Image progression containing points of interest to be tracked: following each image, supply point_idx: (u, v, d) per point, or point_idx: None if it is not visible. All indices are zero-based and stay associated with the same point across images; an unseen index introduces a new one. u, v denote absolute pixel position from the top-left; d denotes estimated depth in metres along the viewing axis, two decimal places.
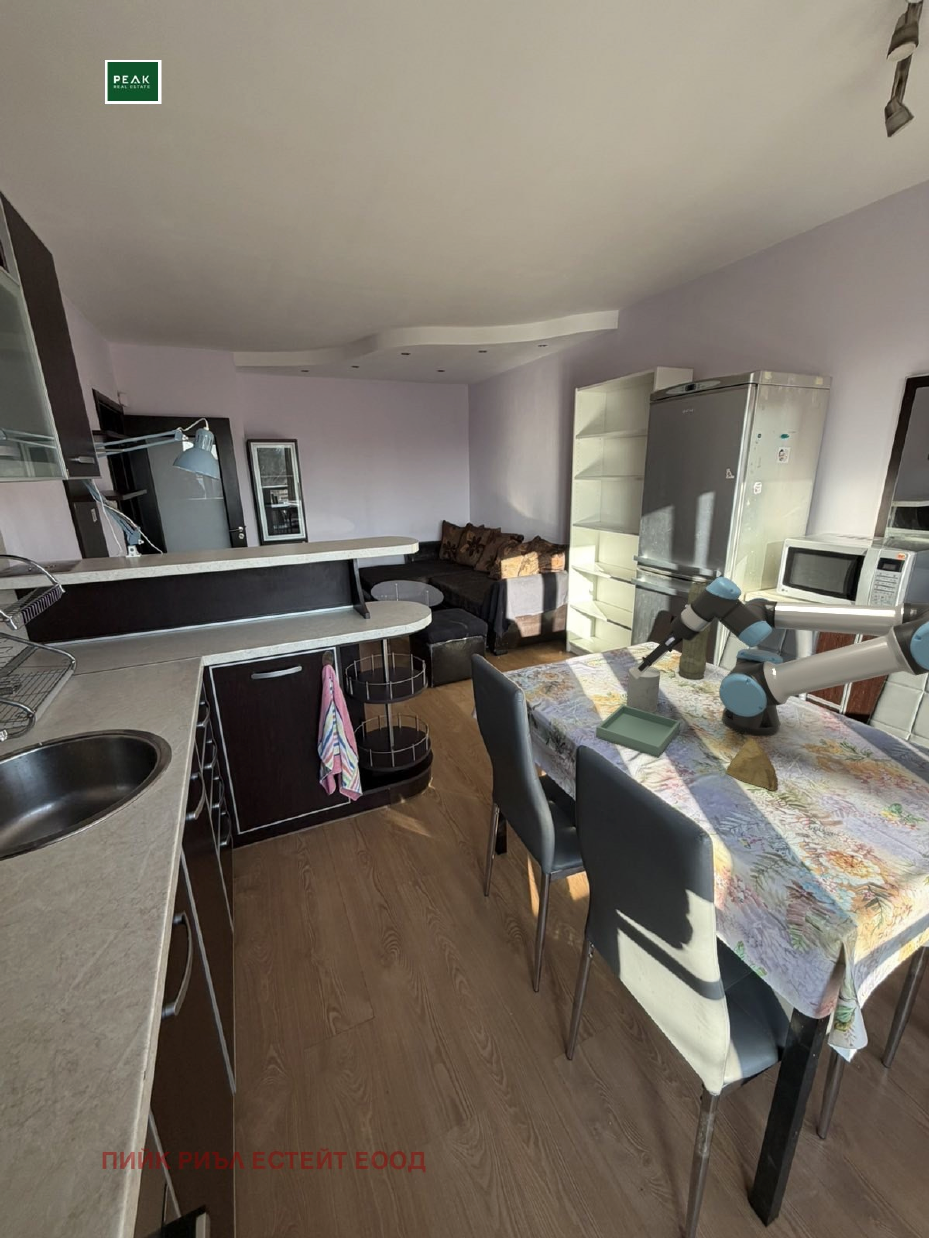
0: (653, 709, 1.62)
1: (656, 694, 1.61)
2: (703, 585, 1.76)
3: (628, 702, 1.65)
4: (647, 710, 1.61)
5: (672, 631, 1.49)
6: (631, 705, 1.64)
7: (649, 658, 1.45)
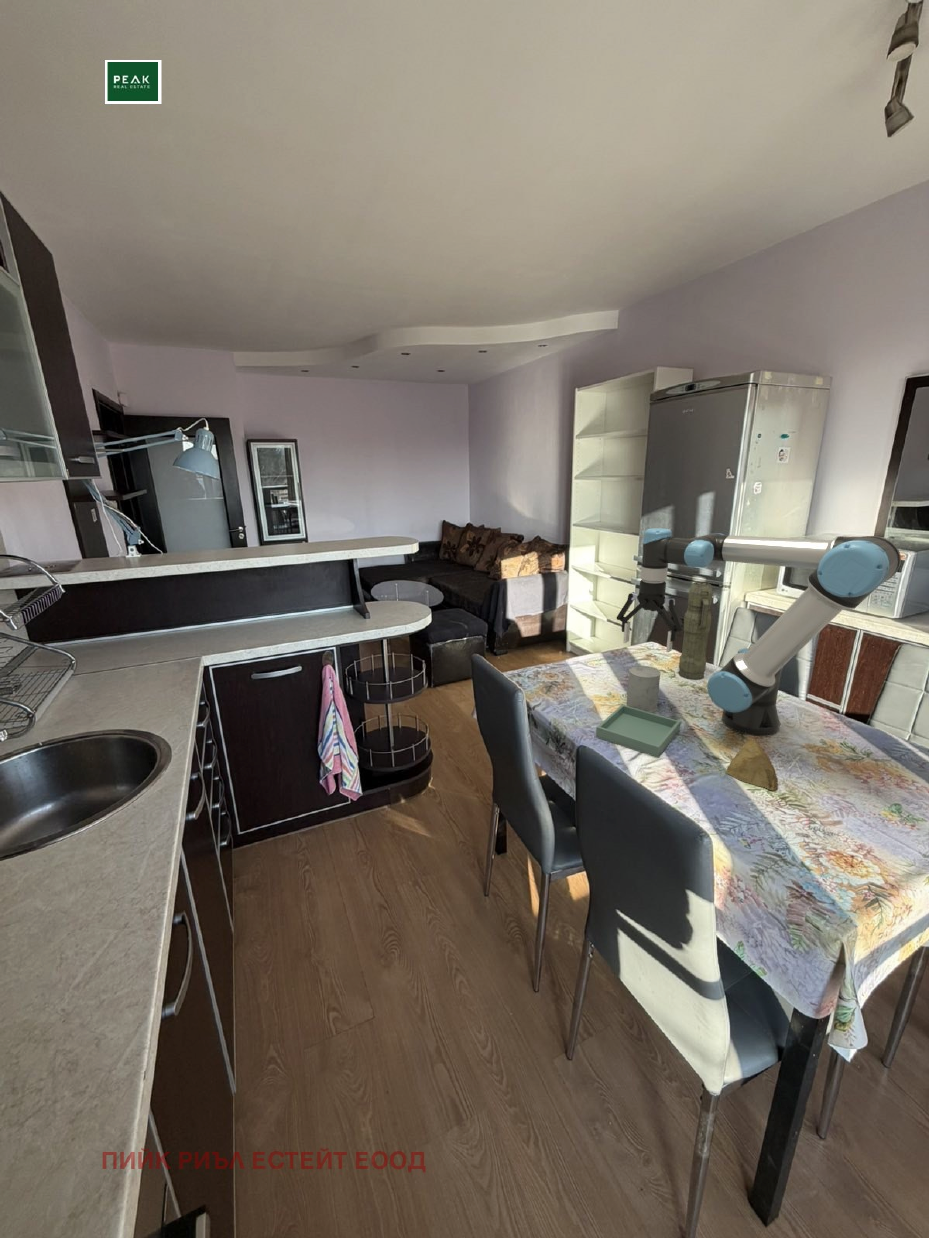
0: (653, 709, 1.62)
1: (656, 694, 1.61)
2: (703, 585, 1.76)
3: (628, 702, 1.65)
4: (647, 710, 1.61)
5: None
6: (631, 705, 1.64)
7: None
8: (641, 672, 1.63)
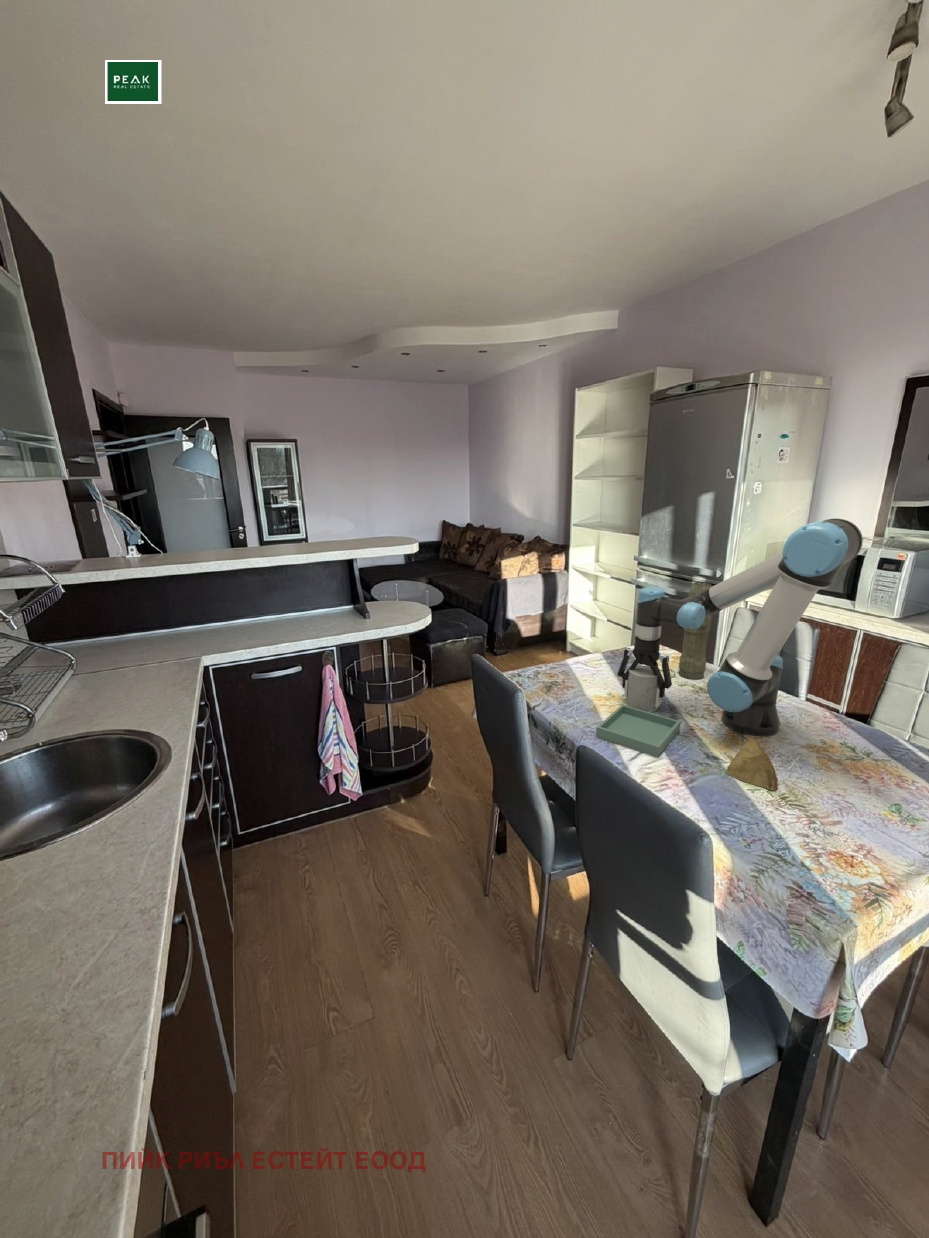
0: (653, 709, 1.62)
1: None
2: (703, 585, 1.76)
3: (628, 702, 1.65)
4: (647, 710, 1.61)
5: None
6: (631, 705, 1.64)
7: None
8: (641, 671, 1.63)
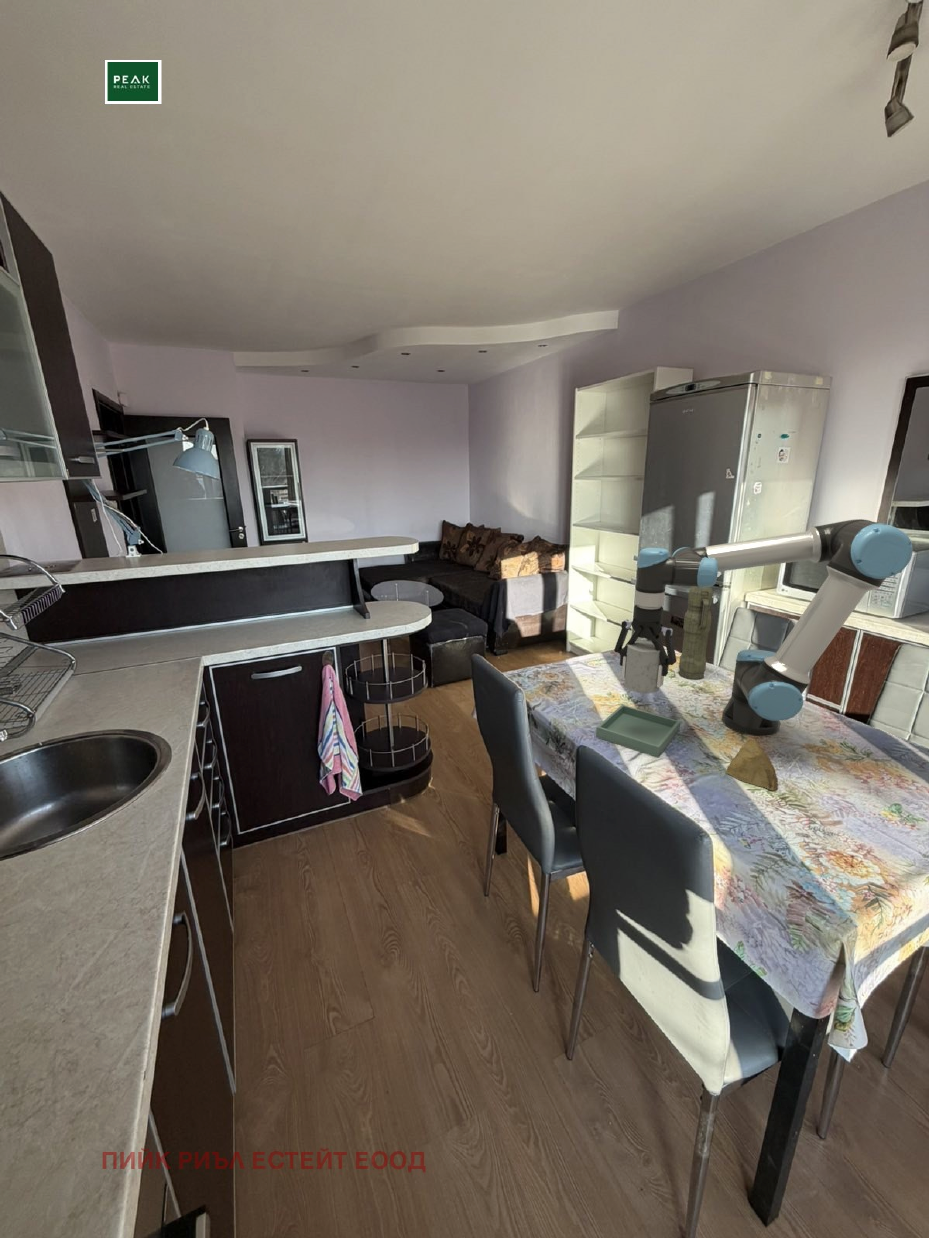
0: (654, 690, 1.41)
1: None
2: None
3: (626, 681, 1.45)
4: (648, 691, 1.41)
5: None
6: (629, 685, 1.43)
7: None
8: (641, 646, 1.42)
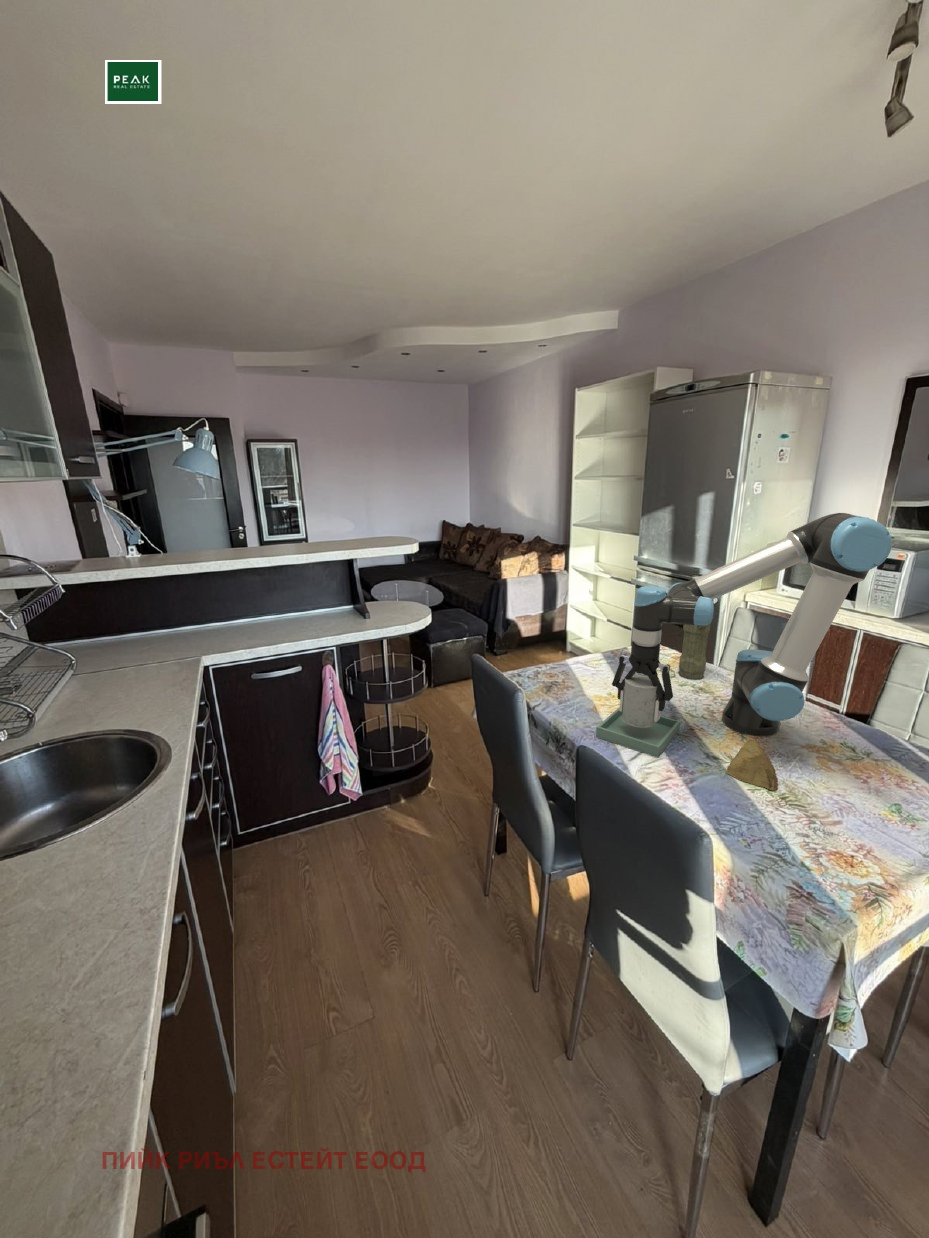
0: (651, 724, 1.44)
1: None
2: None
3: (624, 715, 1.47)
4: (645, 725, 1.43)
5: None
6: (627, 719, 1.45)
7: None
8: (639, 681, 1.44)
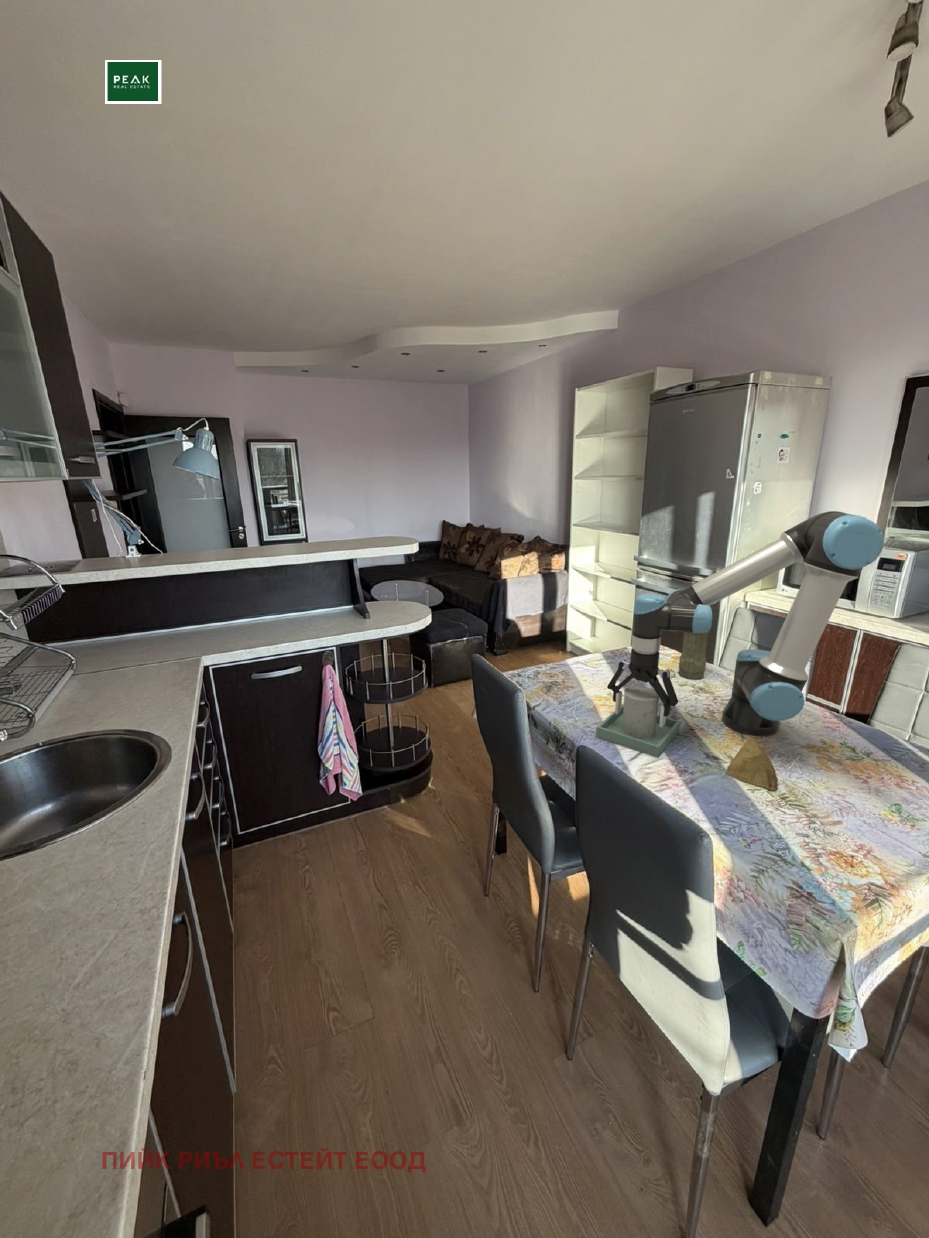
0: (651, 736, 1.45)
1: (654, 719, 1.44)
2: None
3: (623, 727, 1.48)
4: (645, 737, 1.44)
5: None
6: (627, 731, 1.47)
7: None
8: (638, 694, 1.46)
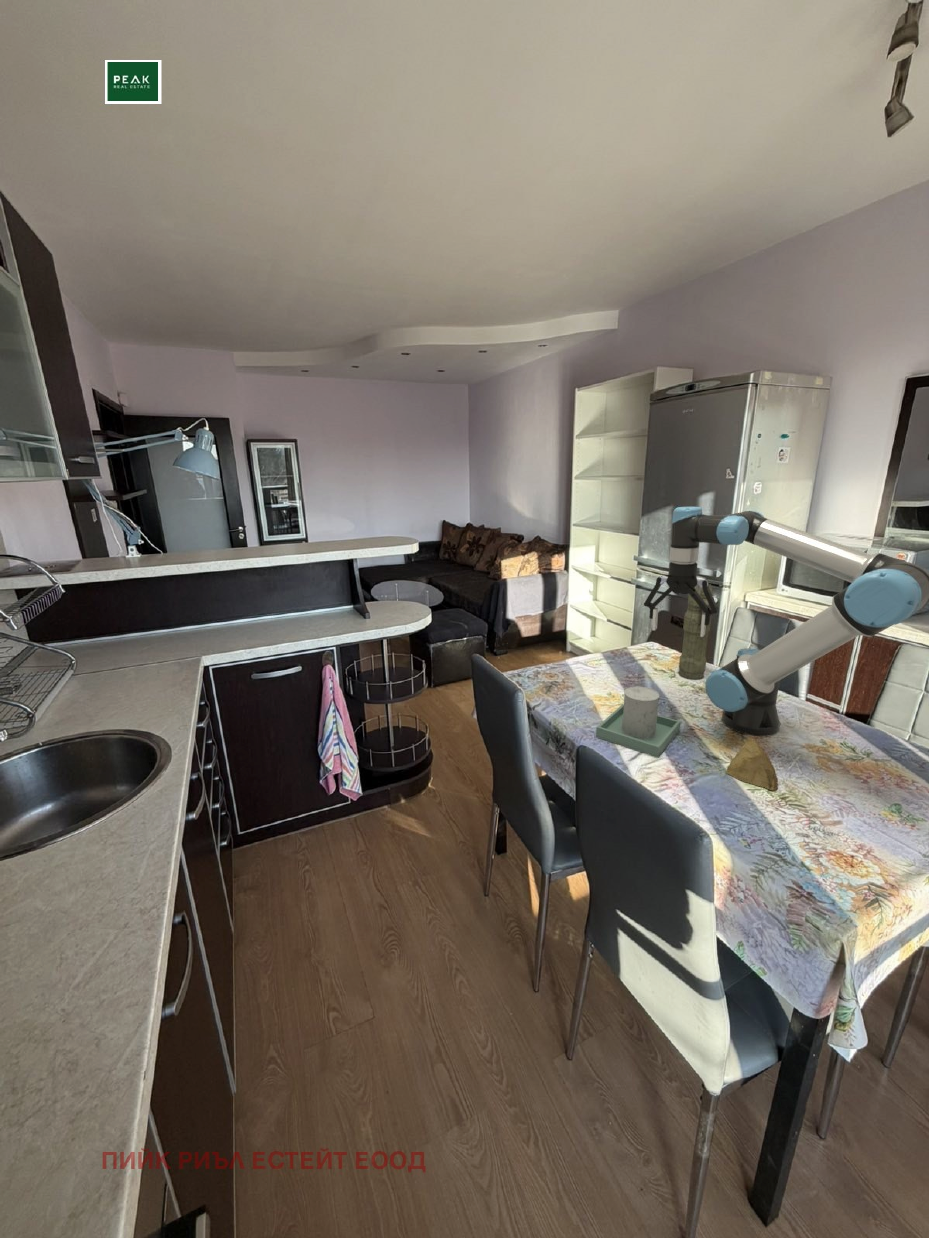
0: (651, 736, 1.45)
1: (654, 719, 1.44)
2: None
3: (623, 727, 1.48)
4: (645, 737, 1.44)
5: None
6: (627, 731, 1.47)
7: None
8: (638, 694, 1.46)
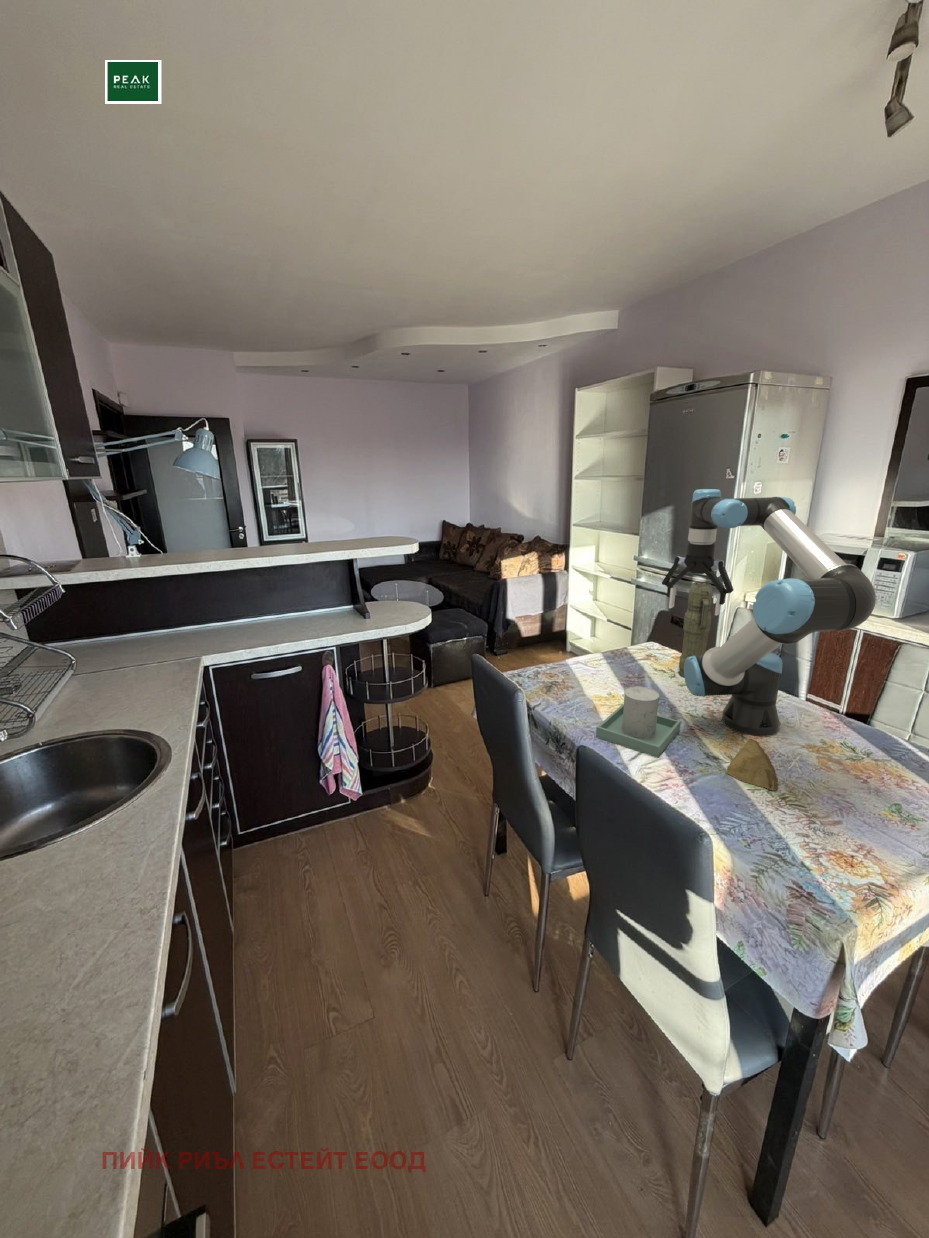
0: (651, 736, 1.45)
1: (654, 719, 1.44)
2: (703, 585, 1.76)
3: (623, 727, 1.48)
4: (645, 737, 1.44)
5: None
6: (627, 731, 1.47)
7: None
8: (638, 694, 1.46)
